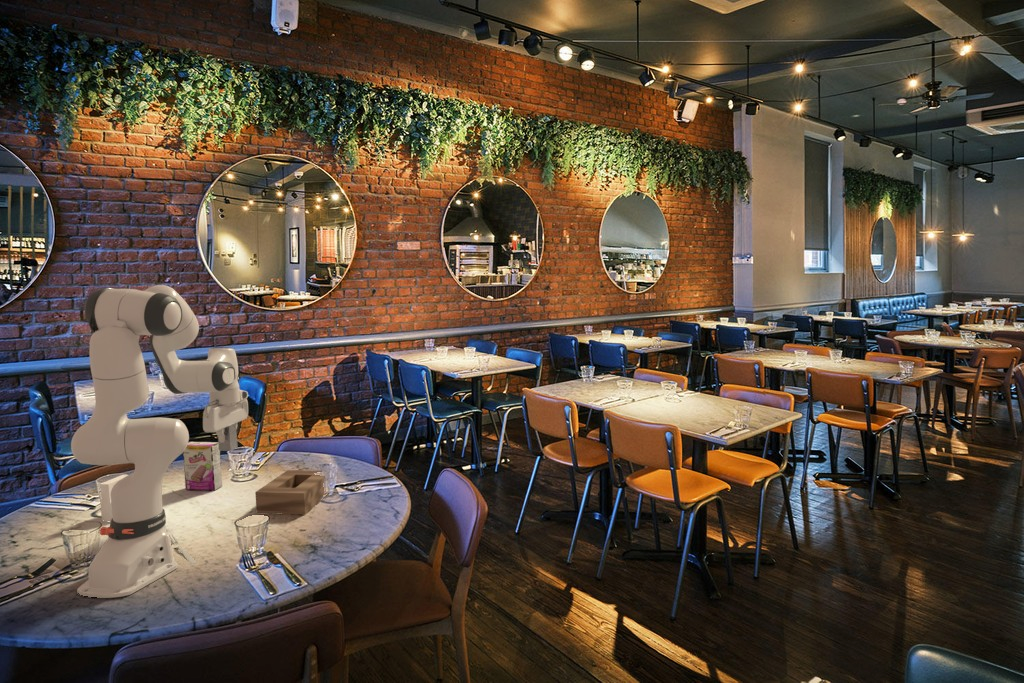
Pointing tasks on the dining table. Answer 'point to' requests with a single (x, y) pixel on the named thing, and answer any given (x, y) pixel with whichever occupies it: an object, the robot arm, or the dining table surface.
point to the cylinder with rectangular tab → (107, 497)
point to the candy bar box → (202, 466)
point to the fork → (184, 552)
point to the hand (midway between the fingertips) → (227, 439)
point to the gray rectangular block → (229, 439)
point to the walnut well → (291, 493)
